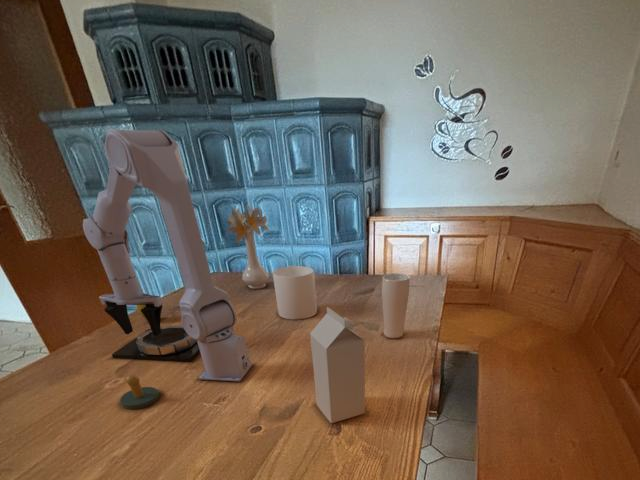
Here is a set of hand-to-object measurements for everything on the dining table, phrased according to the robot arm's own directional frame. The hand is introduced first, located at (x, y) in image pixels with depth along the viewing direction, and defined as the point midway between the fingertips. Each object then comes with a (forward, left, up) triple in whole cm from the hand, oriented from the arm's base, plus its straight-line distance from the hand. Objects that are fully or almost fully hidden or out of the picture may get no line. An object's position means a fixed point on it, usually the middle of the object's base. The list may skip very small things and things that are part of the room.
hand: (143, 333), depth 96 cm
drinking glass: (-62, -14, -4) cm, 64 cm away
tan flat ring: (-6, 0, -2) cm, 6 cm away
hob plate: (-5, -1, -4) cm, 6 cm away
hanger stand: (-13, +24, -4) cm, 28 cm away
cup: (-32, -28, -4) cm, 43 cm away
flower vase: (-11, -52, -4) cm, 53 cm away
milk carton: (-54, +23, -4) cm, 59 cm away
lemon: (+9, -17, -4) cm, 20 cm away
